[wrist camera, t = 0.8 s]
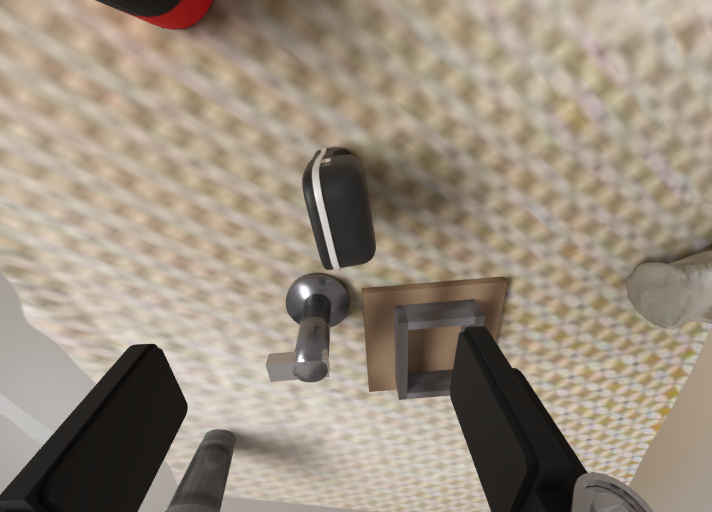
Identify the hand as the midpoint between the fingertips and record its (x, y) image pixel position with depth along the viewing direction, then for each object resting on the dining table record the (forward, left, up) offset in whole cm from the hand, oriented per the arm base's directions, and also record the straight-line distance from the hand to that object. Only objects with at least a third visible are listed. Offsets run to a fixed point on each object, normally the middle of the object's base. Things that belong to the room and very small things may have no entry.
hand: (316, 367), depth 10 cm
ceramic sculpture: (-38, +12, -21) cm, 45 cm away
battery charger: (-1, -1, -21) cm, 21 cm away
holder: (-10, +19, -21) cm, 30 cm away
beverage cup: (+21, +36, -21) cm, 47 cm away
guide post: (+3, +12, -21) cm, 24 cm away
